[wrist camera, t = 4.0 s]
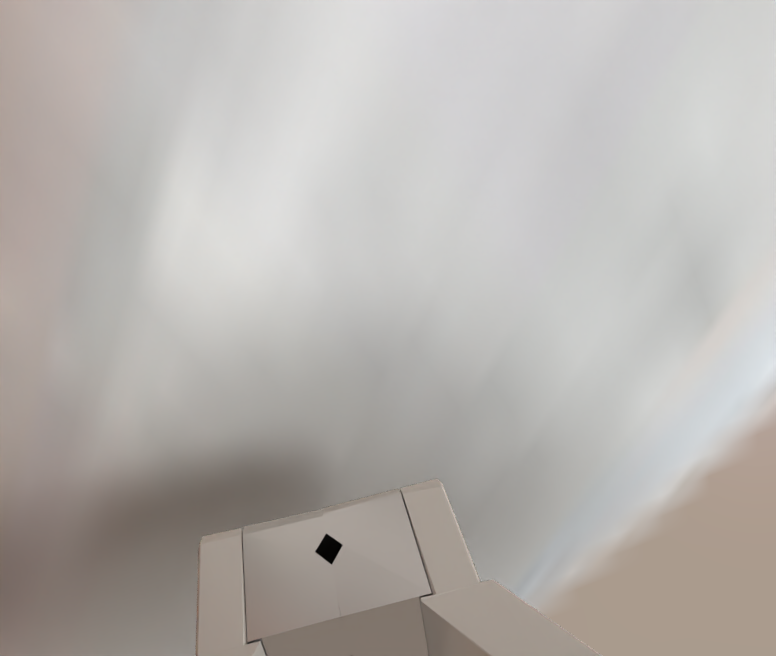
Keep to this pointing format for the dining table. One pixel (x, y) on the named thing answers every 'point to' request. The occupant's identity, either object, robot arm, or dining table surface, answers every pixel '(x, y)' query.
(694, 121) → the dining table surface
